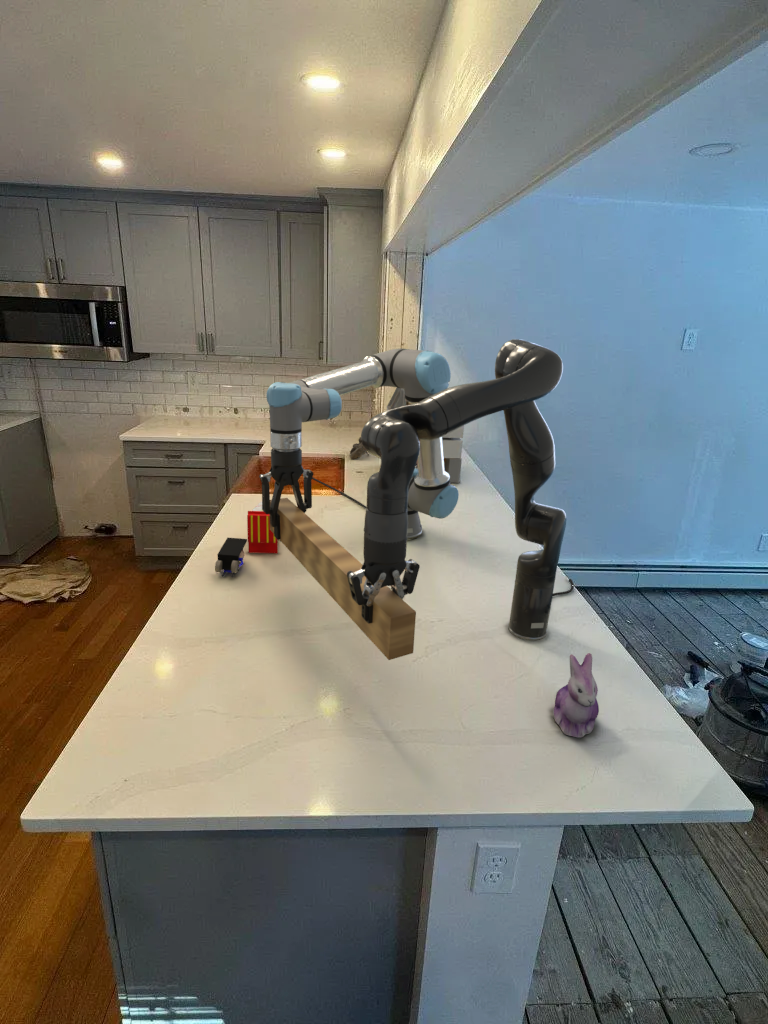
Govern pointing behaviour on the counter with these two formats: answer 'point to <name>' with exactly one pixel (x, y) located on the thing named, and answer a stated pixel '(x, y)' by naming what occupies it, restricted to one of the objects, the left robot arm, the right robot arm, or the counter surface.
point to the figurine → (577, 700)
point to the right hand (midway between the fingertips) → (381, 617)
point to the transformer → (449, 441)
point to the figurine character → (230, 556)
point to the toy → (260, 532)
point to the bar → (346, 581)
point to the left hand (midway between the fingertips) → (287, 535)
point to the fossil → (357, 450)
